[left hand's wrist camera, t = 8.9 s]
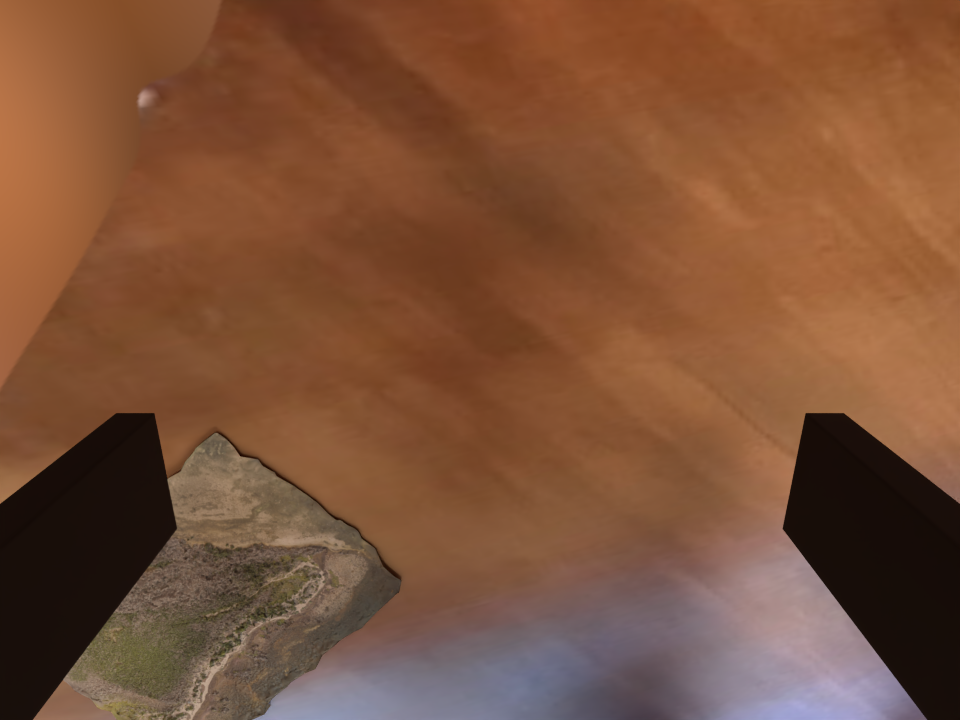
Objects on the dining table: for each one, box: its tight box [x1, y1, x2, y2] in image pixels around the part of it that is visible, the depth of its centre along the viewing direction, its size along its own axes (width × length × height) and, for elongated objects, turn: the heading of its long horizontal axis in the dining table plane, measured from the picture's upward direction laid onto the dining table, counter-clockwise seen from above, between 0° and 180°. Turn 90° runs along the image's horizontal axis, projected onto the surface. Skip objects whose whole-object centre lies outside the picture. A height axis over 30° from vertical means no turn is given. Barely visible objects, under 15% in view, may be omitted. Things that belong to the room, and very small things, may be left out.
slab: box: [63, 433, 401, 720], centre depth 49 cm, size 28×20×1 cm
